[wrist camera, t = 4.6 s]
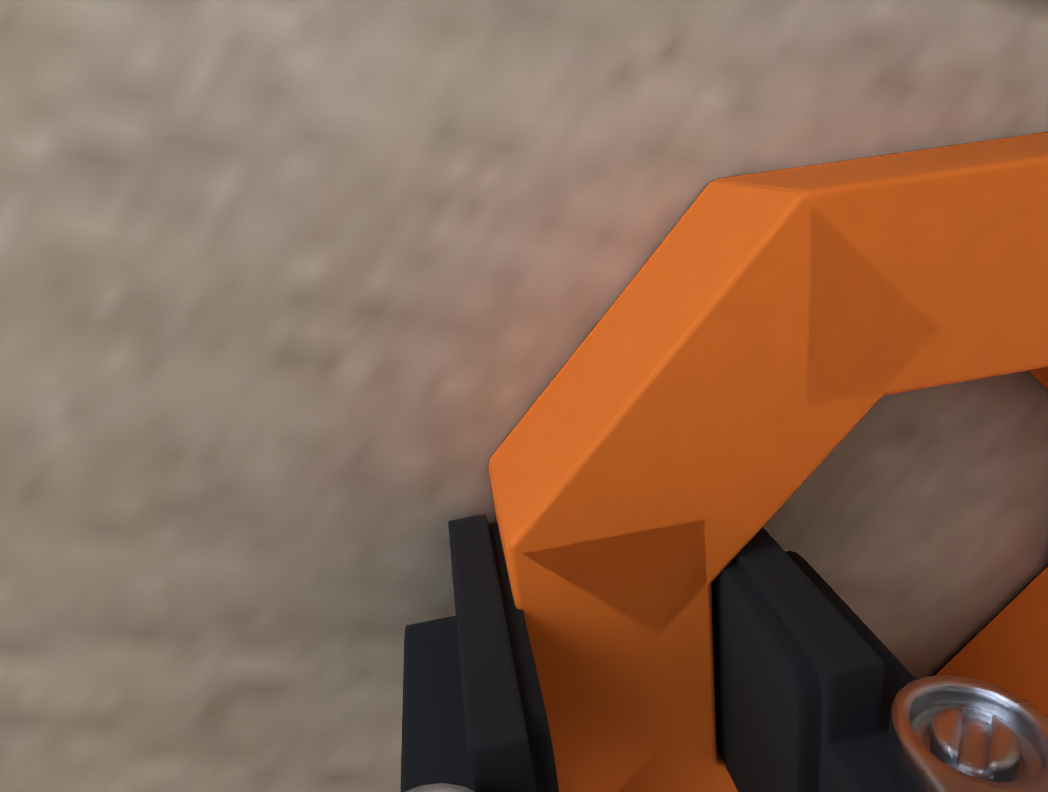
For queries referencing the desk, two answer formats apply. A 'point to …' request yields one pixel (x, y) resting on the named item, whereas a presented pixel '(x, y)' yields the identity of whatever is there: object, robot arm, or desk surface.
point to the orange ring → (754, 427)
